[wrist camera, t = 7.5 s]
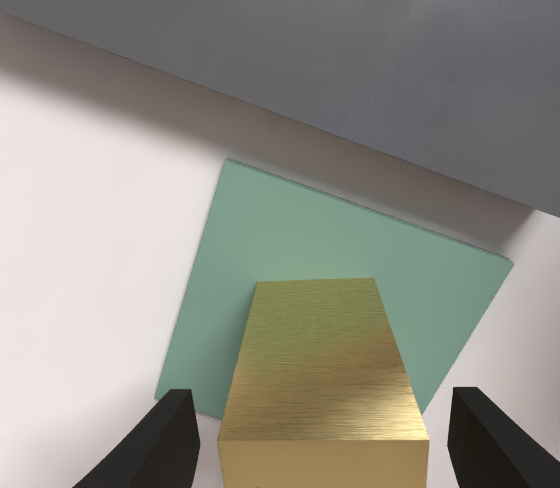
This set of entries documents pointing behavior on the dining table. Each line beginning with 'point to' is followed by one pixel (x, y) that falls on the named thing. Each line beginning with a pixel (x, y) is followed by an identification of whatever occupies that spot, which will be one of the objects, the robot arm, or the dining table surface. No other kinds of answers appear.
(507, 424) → the robot arm
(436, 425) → the dining table surface
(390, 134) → the grey board with hole
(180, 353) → the green mat
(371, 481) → the brushed gold bar
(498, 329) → the dining table surface
